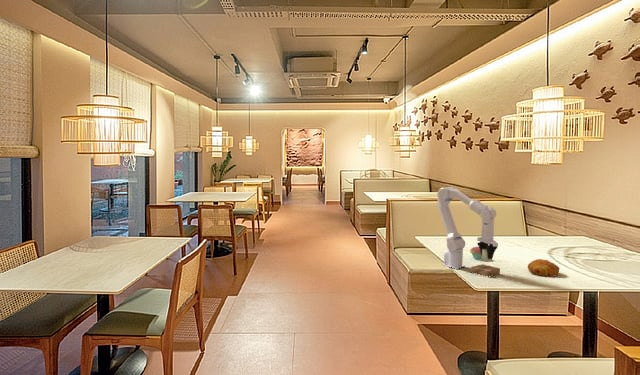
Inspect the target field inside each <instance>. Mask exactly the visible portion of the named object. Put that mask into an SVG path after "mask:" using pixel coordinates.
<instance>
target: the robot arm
mask: <svg viewBox="0 0 640 375" xmlns="http://www.w3.org/2000/svg"><path fill="white" fill-rule="evenodd" d="M436 195H437V208H438V210H439V214H440V216H441V220H442V223H443V224H444V228H445V231H446V235H447V236H446V238H445V241H446V247H447V249H445V250H444V254H443V264H442V266H443V267H448V268H451V267H452V268H451V269H454V268H455V270H459V268H460V269H462V268H461V267H464V268H466V267H465V266H466V265H463V263H464V261H463V259H464V258H463V257H464V256H463V255H464V254H463V252H464V248H465V247H466V241H465V240H464V238H463V237H462V235H461V234H460V233H459V232H458V229H457V226H456V224H455V221H454V218H453V215H452V211H451V209H450V206H449V205H450V203H451V201H452V200H454V199H457V200H459V201H460V202H462V203H464V204H466V205H467V206H468V208H469V209H470V210H471V211H473V212H474V213H475V214H477V215H479V216H480V219H481V237H480V236H479V237H476V238H477V239H476V240H477V242H476V243H477V247H479V248H480V252H481V256H482V249H487V255H488V259H492V260H493V258H494V254H495V252H496V251H497V249H498V246H499V243H498V242H497V241H495V240H494V232H495V218H496V217H497V211H496V209H494V208H493V207H489V206H488V205H486V204H483V203H482V202H481V200H479V199H478V200H477V199H471V198H470V197H469V196H467V195H465V194H464V193H462V192H461V191H460V190H459V189H457V188H455V187H454V186H449V187H440V188H439V189H438V191H437V193H436ZM462 265H463V266H462ZM450 266H451V267H450Z"/></svg>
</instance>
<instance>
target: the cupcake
mask: <svg viewBox="0 0 640 375" xmlns="http://www.w3.org/2000/svg"><path fill="white" fill-rule="evenodd" d="M469 252H470V254H471V255H472V258H473V259H474V258H475V259H474V260H477V259H481V260H482V256H481V252H480V248H479V246H473V247H471V248H470V250H469Z"/></svg>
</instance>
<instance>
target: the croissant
mask: <svg viewBox="0 0 640 375" xmlns="http://www.w3.org/2000/svg"><path fill="white" fill-rule="evenodd" d="M527 269H528V271H529V273H530V274H533V275H535V276H539V277H550V278H551V277H556V276H557V275H558V274H560V267H559V266H558V265H557V264H555V263H554V262H552V261H549V259H541V258H538V259H533V260H532V261H530V262H529V263H528V264H527Z"/></svg>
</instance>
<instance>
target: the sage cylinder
mask: <svg viewBox="0 0 640 375" xmlns="http://www.w3.org/2000/svg"><path fill="white" fill-rule="evenodd" d="M481 261H484V262H488V263H490V262H493V258H492V259H488V255H487V249H482V259H481Z"/></svg>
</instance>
